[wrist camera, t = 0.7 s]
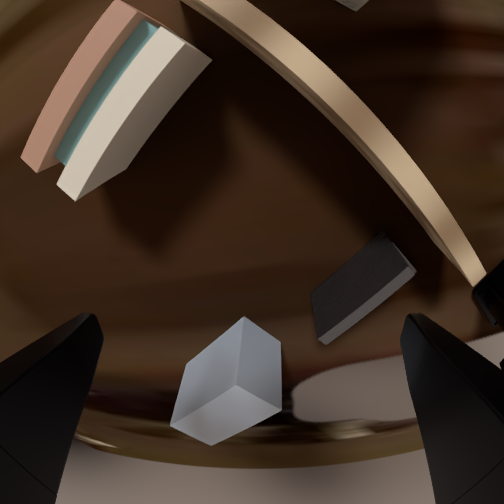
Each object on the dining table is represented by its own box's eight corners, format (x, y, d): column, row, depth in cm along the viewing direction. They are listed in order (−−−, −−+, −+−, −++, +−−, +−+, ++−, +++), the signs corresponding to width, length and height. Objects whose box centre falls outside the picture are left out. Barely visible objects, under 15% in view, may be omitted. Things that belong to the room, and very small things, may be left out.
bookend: (414, 267, 22) (441, 306, 18) (346, 323, 25) (358, 369, 20) (382, 230, 21) (408, 266, 17) (310, 293, 24) (317, 339, 19)
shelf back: (445, 232, 21) (486, 273, 15) (434, 242, 21) (472, 286, 16) (192, -14, 14) (163, -50, 9) (179, -1, 15) (145, -32, 9)
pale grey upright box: (280, 341, 26) (281, 410, 20) (220, 384, 29) (211, 445, 23) (244, 315, 25) (236, 384, 19) (186, 363, 28) (169, 425, 22)
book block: (212, 60, 17) (182, 41, 10) (126, 169, 20) (71, 203, 14) (164, 25, 16) (116, -2, 9) (85, 135, 19) (20, 157, 13)
